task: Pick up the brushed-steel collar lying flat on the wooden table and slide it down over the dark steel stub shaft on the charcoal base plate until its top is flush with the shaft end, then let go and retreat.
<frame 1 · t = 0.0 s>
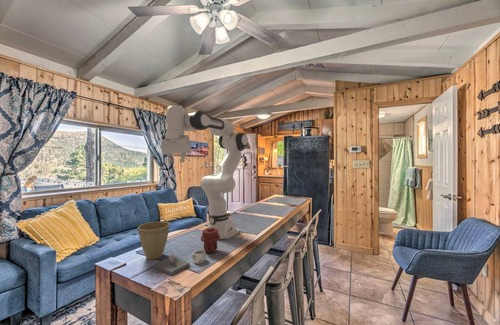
hand: (176, 162, 116), 48 cm above the table, fingers open, 8 cm apart
shaft base: (171, 266, 102), on the table
plant pot: (154, 256, 114), on the table
steel collar: (198, 260, 108), on the table
mechanical component: (210, 251, 119), on the table
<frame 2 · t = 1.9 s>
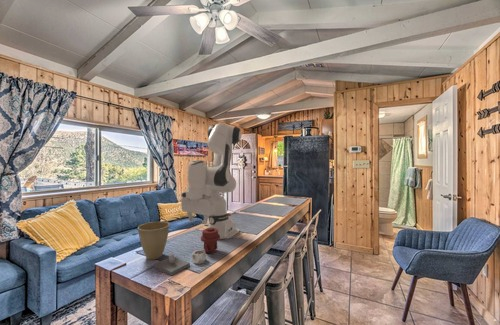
hand: (197, 222, 108), 19 cm above the table, fingers open, 8 cm apart
nothing on the table moved.
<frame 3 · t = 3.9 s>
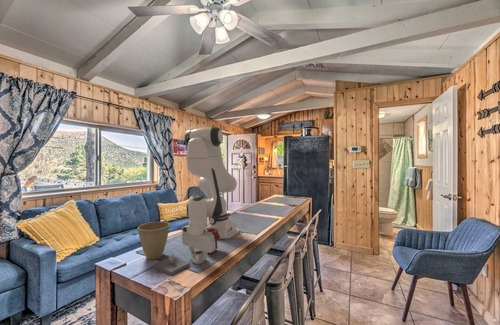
hand: (198, 257, 108), 2 cm above the table, fingers closed on steel collar, 6 cm apart
steel collar: (198, 260, 108), on the table, touching gripper
everything else where it was.
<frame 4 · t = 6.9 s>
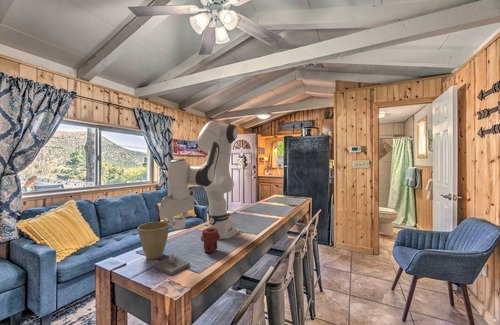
hand: (178, 223, 103), 20 cm above the table, fingers closed on steel collar, 6 cm apart
steel collar: (178, 227, 103), point 18 cm above the table, touching gripper
everything else where it was.
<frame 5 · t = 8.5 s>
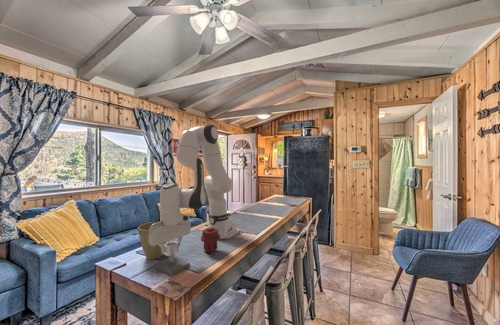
hand: (171, 248, 102), 8 cm above the table, fingers closed on steel collar, 6 cm apart
steel collar: (171, 252, 102), point 7 cm above the table, touching gripper
everything else where it was.
when the fingers open (4 cm above the table, at t = 9.9 s): steel collar stays where it is, resting on shaft base.
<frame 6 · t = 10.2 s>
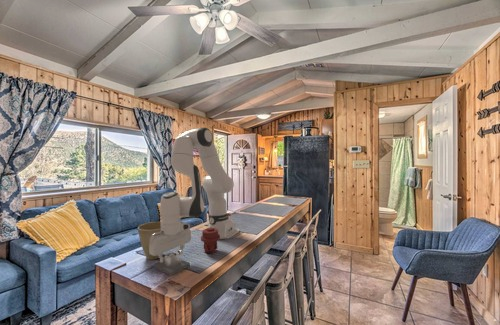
hand: (171, 257, 102), 4 cm above the table, fingers open, 8 cm apart
steel collar: (172, 263, 102), point 1 cm above the table, touching shaft base
everything else where it was.
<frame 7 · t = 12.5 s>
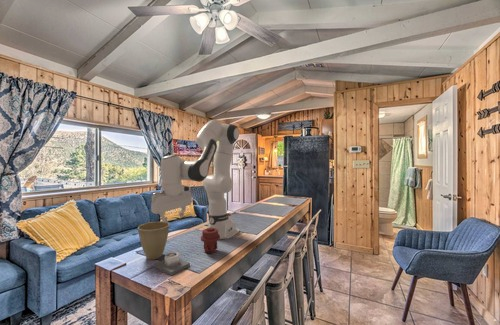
hand: (173, 218, 105), 22 cm above the table, fingers open, 8 cm apart
nothing on the table moved.
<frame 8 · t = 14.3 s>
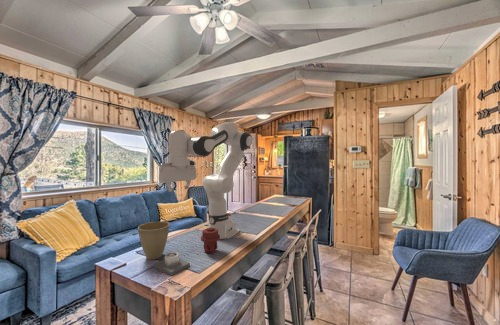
hand: (179, 190, 111), 34 cm above the table, fingers open, 8 cm apart
nothing on the table moved.
at the end: steel collar 0.1 cm off-centre on the shaft base, point 1.5 cm above the shaft base's base; steel collar tilted 0°; the gripper is holding nothing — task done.
